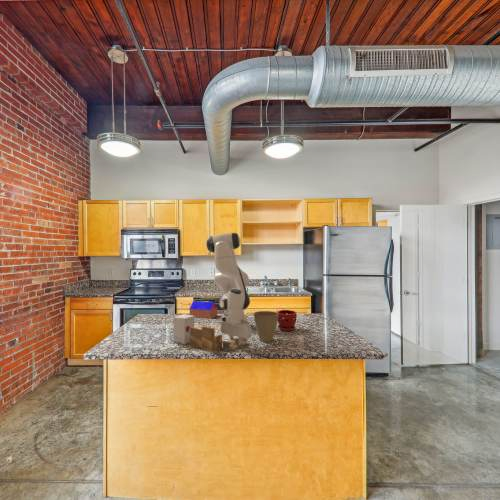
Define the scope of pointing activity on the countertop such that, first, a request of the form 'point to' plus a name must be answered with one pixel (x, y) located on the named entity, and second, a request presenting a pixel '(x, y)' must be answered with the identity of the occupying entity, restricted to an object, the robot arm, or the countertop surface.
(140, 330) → the countertop surface
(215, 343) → the wood grain block
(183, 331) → the supplement box
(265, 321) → the plant pot
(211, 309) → the house
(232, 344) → the rail
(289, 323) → the plant pot
